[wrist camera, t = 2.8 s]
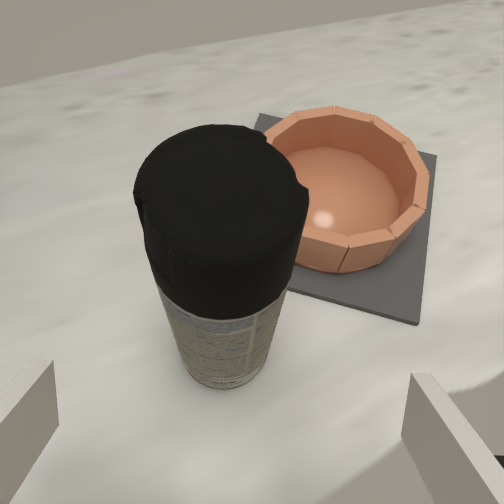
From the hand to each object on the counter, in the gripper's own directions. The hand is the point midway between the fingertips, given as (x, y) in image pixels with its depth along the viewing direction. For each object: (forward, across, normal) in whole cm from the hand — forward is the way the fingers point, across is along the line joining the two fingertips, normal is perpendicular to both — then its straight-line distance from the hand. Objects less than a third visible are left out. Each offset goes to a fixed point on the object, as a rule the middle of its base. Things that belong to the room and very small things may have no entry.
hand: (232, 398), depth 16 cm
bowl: (+25, +8, +3) cm, 26 cm away
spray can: (+16, -1, -7) cm, 18 cm away
